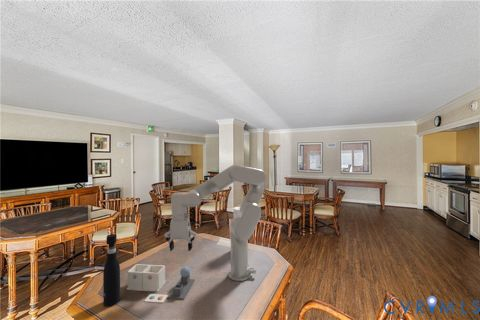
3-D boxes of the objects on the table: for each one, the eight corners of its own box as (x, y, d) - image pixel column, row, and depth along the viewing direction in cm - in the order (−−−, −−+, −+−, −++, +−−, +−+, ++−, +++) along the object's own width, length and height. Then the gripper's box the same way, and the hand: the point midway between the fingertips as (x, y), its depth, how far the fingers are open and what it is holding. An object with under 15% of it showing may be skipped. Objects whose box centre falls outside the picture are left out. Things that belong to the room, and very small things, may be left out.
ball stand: (194, 280, 108) (194, 273, 108) (183, 299, 93) (183, 291, 93) (180, 279, 109) (180, 272, 109) (167, 298, 94) (167, 290, 94)
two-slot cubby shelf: (166, 281, 108) (166, 265, 108) (158, 291, 99) (157, 273, 99) (136, 279, 109) (136, 263, 109) (126, 289, 101) (126, 272, 101)
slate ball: (191, 274, 108) (191, 264, 108) (188, 279, 103) (188, 269, 103) (182, 273, 108) (182, 264, 108) (178, 279, 103) (178, 269, 104)
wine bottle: (123, 296, 96) (122, 232, 96) (115, 306, 89) (114, 237, 89) (109, 297, 95) (108, 233, 96) (100, 307, 89) (99, 238, 89)
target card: (168, 295, 96) (168, 294, 96) (163, 302, 91) (163, 301, 91) (150, 294, 97) (150, 293, 97) (144, 301, 92) (144, 300, 92)
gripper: (198, 214, 108) (199, 246, 108) (167, 215, 110) (168, 246, 110) (193, 218, 101) (194, 253, 101) (160, 219, 103) (161, 253, 103)
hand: (181, 249), depth 106 cm, fingers open, 9 cm apart
